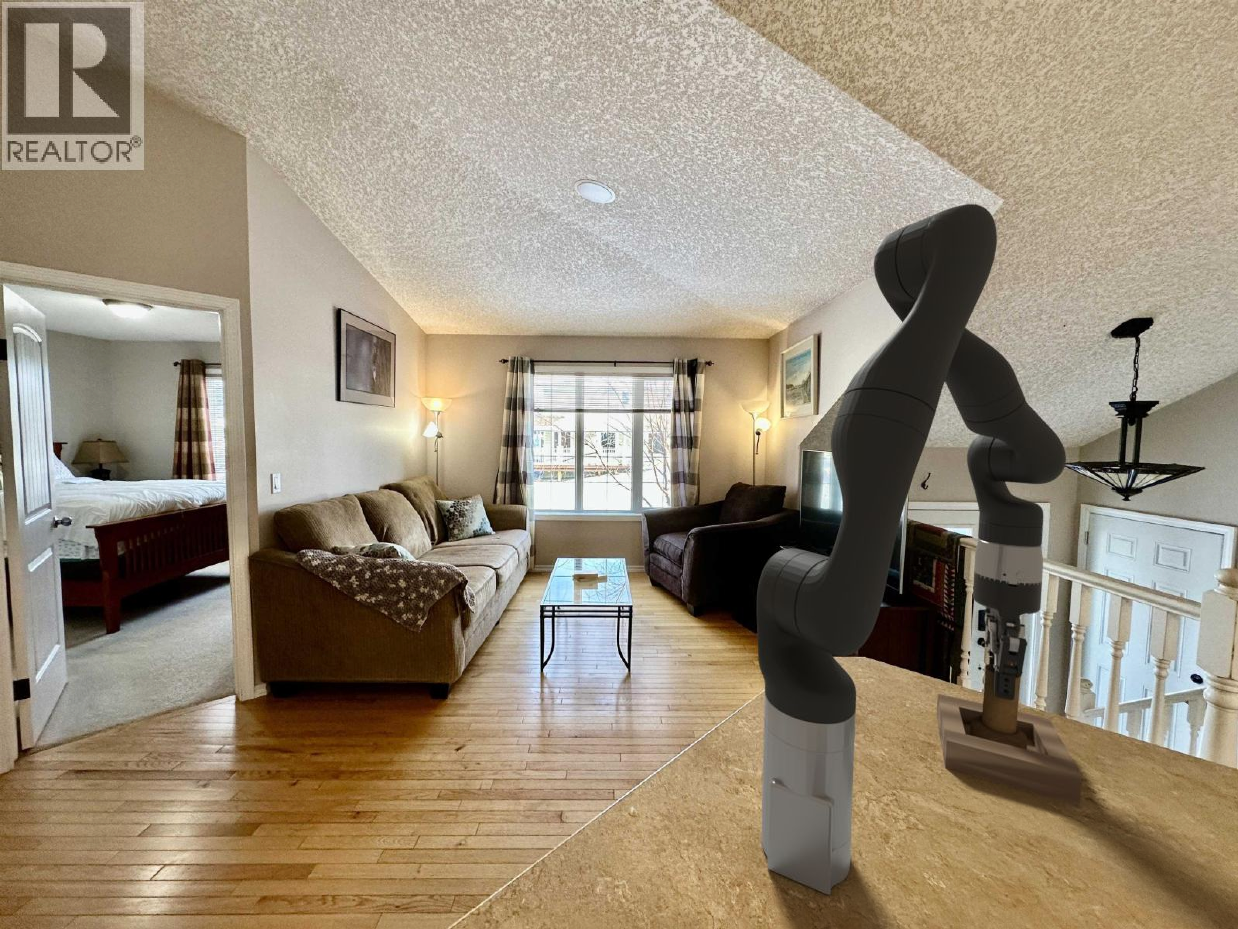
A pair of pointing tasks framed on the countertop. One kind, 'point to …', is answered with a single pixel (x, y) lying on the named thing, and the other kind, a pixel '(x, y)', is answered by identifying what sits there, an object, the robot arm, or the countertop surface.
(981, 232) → the robot arm
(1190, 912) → the countertop surface
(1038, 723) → the brown flat square frame
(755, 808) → the countertop surface
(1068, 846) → the countertop surface
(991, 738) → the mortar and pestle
